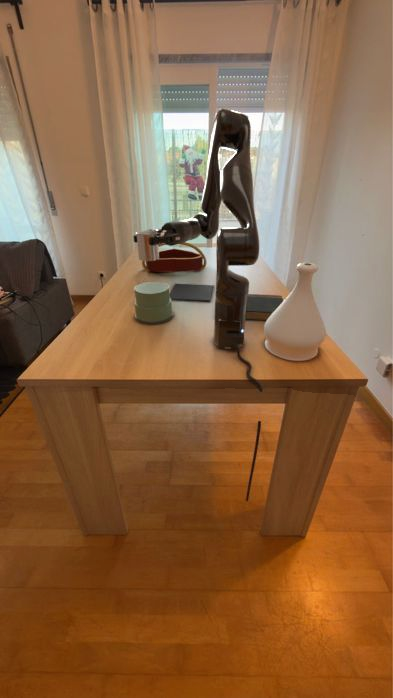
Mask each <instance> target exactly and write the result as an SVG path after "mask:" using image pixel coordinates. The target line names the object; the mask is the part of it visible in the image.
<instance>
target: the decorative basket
mask: <svg viewBox="0 0 393 698" xmlns="http://www.w3.org/2000/svg"><path fill="white" fill-rule="evenodd" d="M179 245H182V246H185V247H186V246H187V247H189V248H191V249H193V250H195V251H196V252H195V251H192V250H186V249H180V248H169V249H163V250H159V259H158V260H154V261H142V260H141V265H142V268H143V269H144V270H145V271H146V272H153V273H155V272H156V273H172V272H174V273H175V272H177V273H184V272H185V273H186V272H198V271H203V270H204V269H205V268H206V267H207V258H206V256H205V253H203V251H202V250H201V249H200V248H199V247H197V246H196V245H194V244H192V243H189V242H187V241H186V242H184V243H180V244H179ZM162 246H166V245H165V244H162V245H161V244H158V247H162Z"/></svg>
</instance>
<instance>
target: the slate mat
mask: <svg viewBox="0 0 393 698" xmlns="http://www.w3.org/2000/svg"><path fill="white" fill-rule="evenodd" d="M214 287H215V285H214V284H212V285H211V284H193V283H192V284H190V283H175V284H174V285H173V287H172V289H171V290H170V291H169V296H170V298H171V301H188V302H189V301H190V302H204V303H205V302H207V303H209V302H211V299H212V295H213V291H214Z"/></svg>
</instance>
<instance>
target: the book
mask: <svg viewBox="0 0 393 698" xmlns="http://www.w3.org/2000/svg"><path fill="white" fill-rule="evenodd" d="M283 301H284V298H283V295H279V294H278V295H277V294H256V293H248V301H247V311H246V321H261V322H262V321H263V322H266V321H267V319H268V318H269V317H270V316H271V314H272V313H273V312H274V311H275V310H276V309H277V308H278V307H279V306H280V304H281V303H282V302H283Z"/></svg>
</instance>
